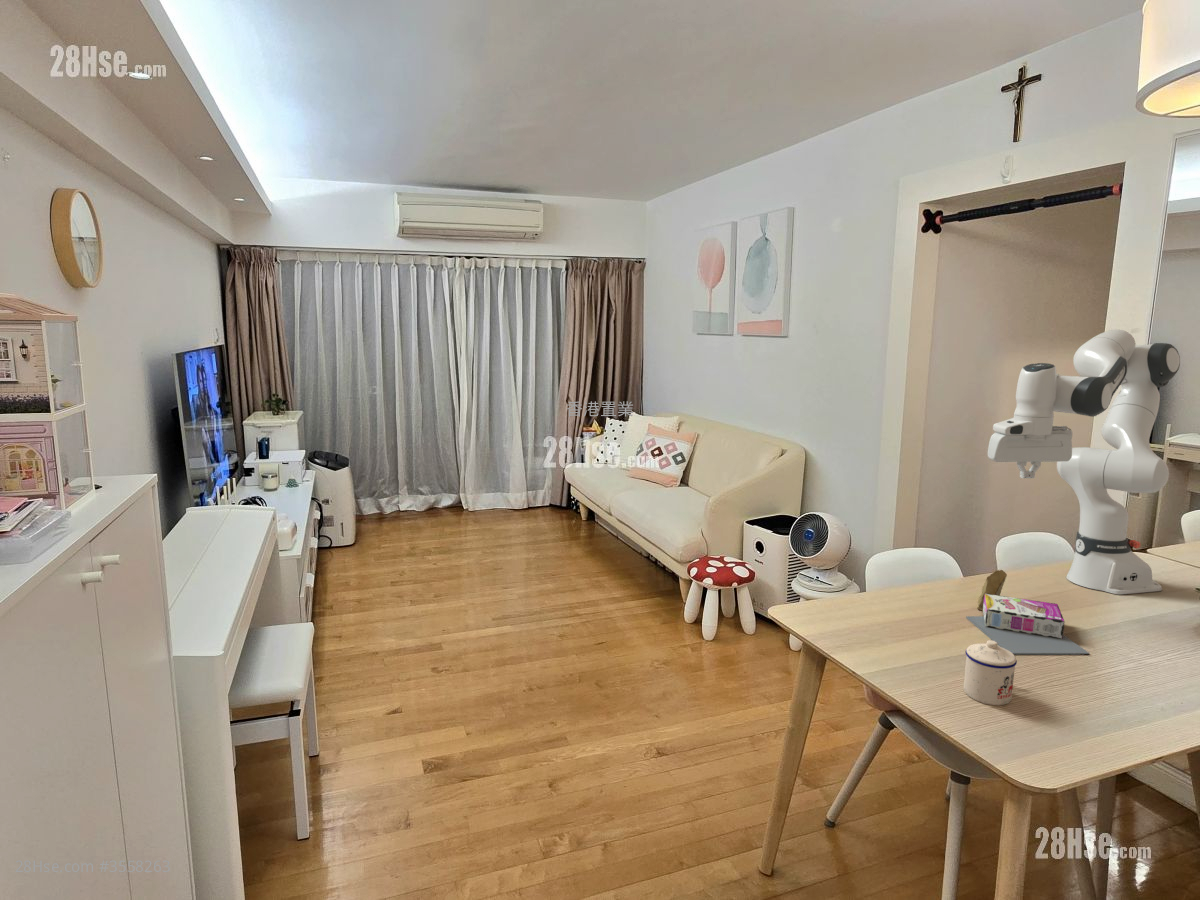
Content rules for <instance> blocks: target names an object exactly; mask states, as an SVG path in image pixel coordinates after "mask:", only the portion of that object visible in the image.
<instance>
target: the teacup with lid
mask: <svg viewBox="0 0 1200 900" xmlns="http://www.w3.org/2000/svg"><path fill="white" fill-rule="evenodd" d="M965 655H966V657H965V658H966V659H965V668H964V679H963V680H964V682H963V691H964V693H965V694H966V695H967V696H968V697H969V698H971V699H972V700H975V701H977V702H980V703H982V704H986V705H992V706H1004V705H1008V704H1009V703H1010V702H1011V701H1012V698H1013V690H1014V688H1013V687H1014V678H1015V669H1016V665H1017V662H1018V660H1017V657H1016V655H1014V654H1012V653H1011V652H1010V651H1008V650H1006V649H1004V648H1002V647H1000V646H998V644H997V642H995V641H993V640H991V639H990V640H989V639H988V640H987V641H986V643H985V642H984V643H974V644H970V645H968V647H967V648H966V649H965Z"/></svg>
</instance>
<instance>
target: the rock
mask: <svg viewBox="0 0 1200 900" xmlns="http://www.w3.org/2000/svg"><path fill="white" fill-rule="evenodd" d="M1007 576H1008V574H1007V573H1006V571H1004V570H1002V569H999V570H995V571H993V572H992V573H991V574H990V575H988V576H987V577H986V579H985V582H984V584H983V586H982V588H981V594H980V595H979V597H978V601H977V603H978V606H977V609H978V610H979V611H982V612H983V603H984V595H985V594H991V595H998V596H1001V592H1002V589H1003V586H1004V584H1005V582H1006V579H1007Z"/></svg>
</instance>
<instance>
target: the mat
mask: <svg viewBox="0 0 1200 900" xmlns="http://www.w3.org/2000/svg"><path fill="white" fill-rule="evenodd" d="M965 618H966V619H967V620H968V621H969V622H970V623H971V622H972V624H973V625H974V626H975V627H976V628H977V629H978V630H980V631H981V632H982V633H983V634H984V635H986V637H988V638H989V639H990V640H993V641H995V642H997V644H998V646H1000V647H1002V648H1004V649H1006V650H1008V651H1010V652H1011V653H1012V654H1014V656H1019V655H1020V656H1051V655H1052V656H1076V655H1078V656H1085V655H1084V654H1089V655H1090V652H1088V651H1087V650H1086V649H1084V648H1083V647H1081V646H1080V645H1079V644H1077V643H1076V642H1075V641H1073V640H1071V638H1069V637H1067V636H1066V635H1065V634H1063V638H1062V639H1060V638H1054V637H1048V636H1042V635H1036V634H1029V633H1023V632H1017V631H1010V630H1004V629H998V628H992V627H985V621H984V615H982V616H981V615H979V616H977V615H975V616H972V615H971V616H970V615H969V616H967V615H966V616H965ZM1069 654H1070V655H1069ZM1080 654H1082V655H1080Z"/></svg>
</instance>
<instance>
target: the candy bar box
mask: <svg viewBox="0 0 1200 900" xmlns="http://www.w3.org/2000/svg"><path fill="white" fill-rule="evenodd" d="M982 613H983V616H984V621H985V627H992V628H998V629H1004V630H1010V631H1017V632H1023V633H1029V634H1036V635H1042V636H1048V637H1054V638H1060V639H1062V638H1063V635H1064V631H1065V623H1066V622H1065V620H1064V617H1063V614H1062V612H1061V609H1060V606H1059V605H1058V603H1055V602H1046V601H1039V600H1031V599H1025V598H1018V597H1010V596H1005V595H1000V596H998V595H991V594H985V595H984V603H983V611H982Z"/></svg>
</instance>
